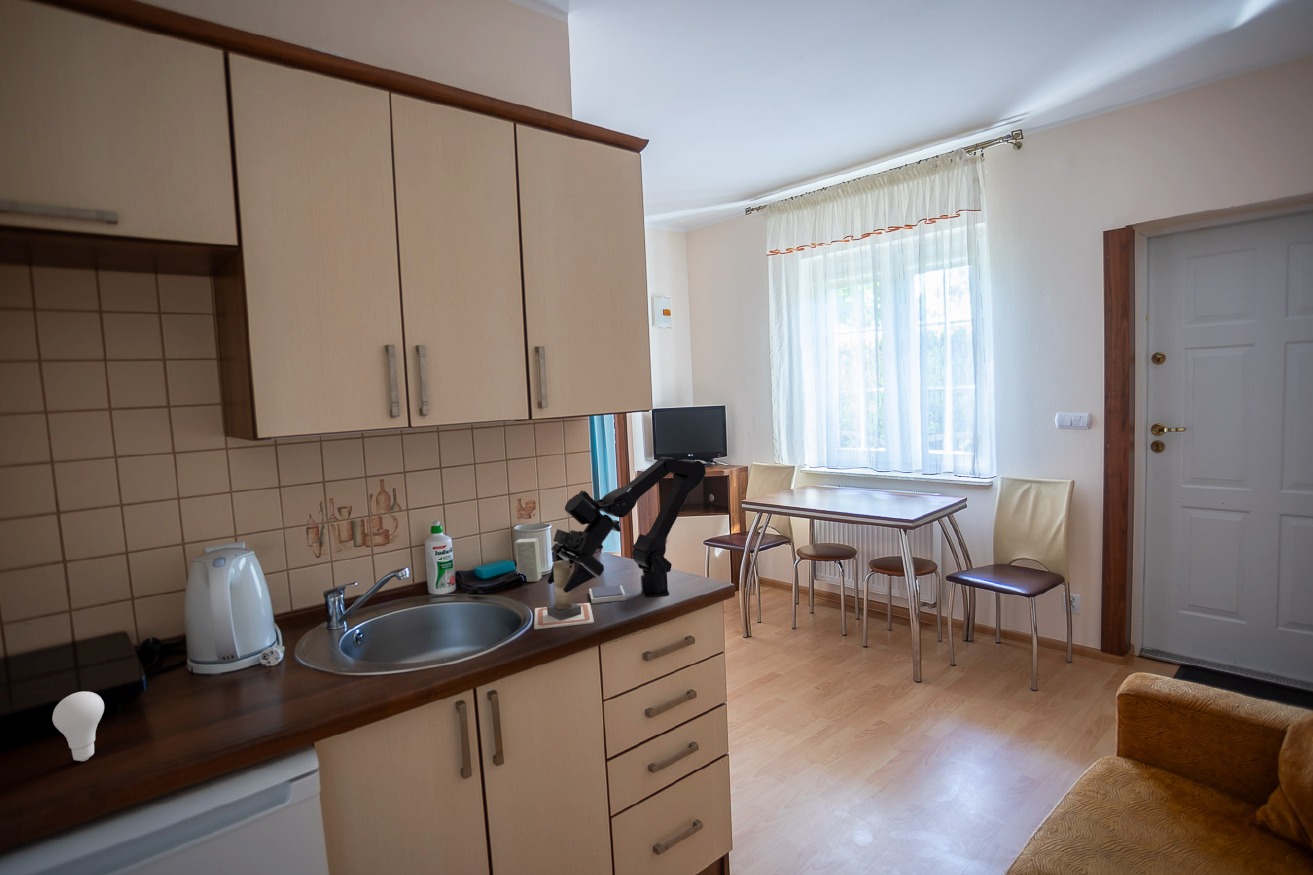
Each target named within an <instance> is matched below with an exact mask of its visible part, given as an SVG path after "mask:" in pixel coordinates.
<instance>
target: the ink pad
mask: <svg viewBox="0 0 1313 875" xmlns="http://www.w3.org/2000/svg"><path fill="white" fill-rule="evenodd" d="M588 590H589V592H588V593H589V597H590V601H591V602H590V603H591V604H599V603H608V602H621V601H626V600H627V596H626V595H627V594H626V592H625V590H624V588H623V585H612V586H611V585H609V586H602V587H592V588H589V589H588Z"/></svg>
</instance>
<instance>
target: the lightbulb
mask: <svg viewBox="0 0 1313 875" xmlns="http://www.w3.org/2000/svg"><path fill="white" fill-rule="evenodd" d="M104 711H105V703H104V700H103V699H102V697H101V696H100V695H99V694H97V693H94V692H92V691H78V692H75V693H72V694H70V695H67V696H65V698H63V699H61V700H60V701H59V703H58V704H57V705H56V706H55V708H54V710H53V713H52V723H53V725H54V726H55V728H56V729H57V730H58V731H59V732H60V733H61V734H63V735H64V737H65V738H66V741H67V743H68V748H69V749H70V750H71V755H72V758H73V760H74V761H79V762H85V761H87V760H89V759H90V757H92V756H93V755H94V754H95V741H96V731H97V729H98V728H97V727H98V724H99V723H100V721H101V719H102V716H103V714H104Z"/></svg>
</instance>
